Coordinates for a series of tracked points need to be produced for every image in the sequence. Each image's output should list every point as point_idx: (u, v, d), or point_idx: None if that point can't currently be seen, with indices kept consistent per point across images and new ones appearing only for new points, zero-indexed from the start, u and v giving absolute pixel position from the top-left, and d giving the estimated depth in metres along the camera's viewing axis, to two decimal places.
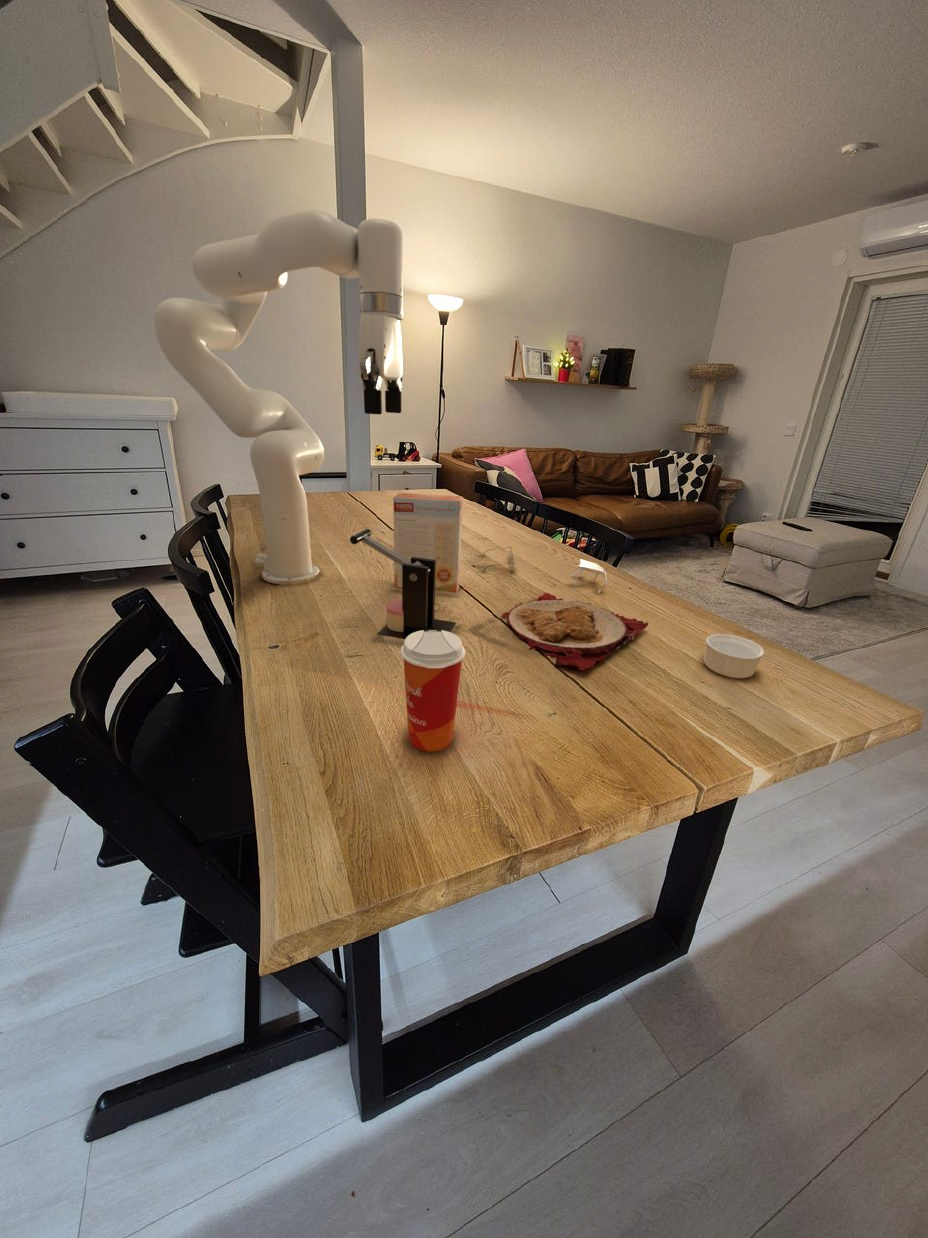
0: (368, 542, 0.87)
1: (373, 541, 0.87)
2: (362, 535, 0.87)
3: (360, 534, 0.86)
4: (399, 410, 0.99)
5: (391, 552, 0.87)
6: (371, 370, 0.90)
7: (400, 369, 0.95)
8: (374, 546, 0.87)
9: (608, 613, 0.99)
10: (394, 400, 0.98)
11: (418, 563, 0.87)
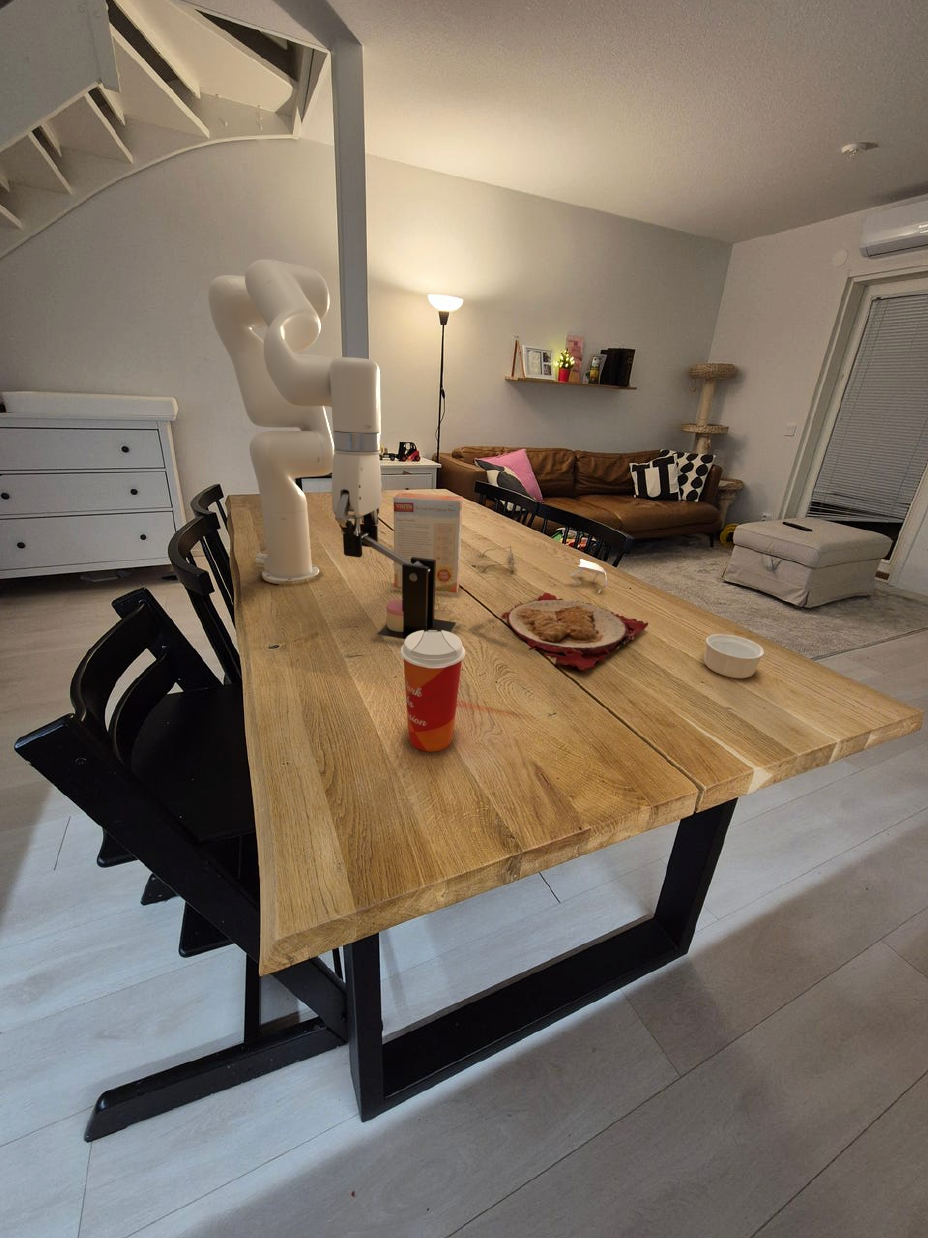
0: (368, 542, 0.87)
1: (373, 541, 0.87)
2: (362, 535, 0.87)
3: None
4: None
5: (391, 552, 0.87)
6: (348, 509, 0.83)
7: (379, 499, 0.88)
8: (374, 546, 0.87)
9: (608, 613, 0.99)
10: None
11: (418, 563, 0.87)
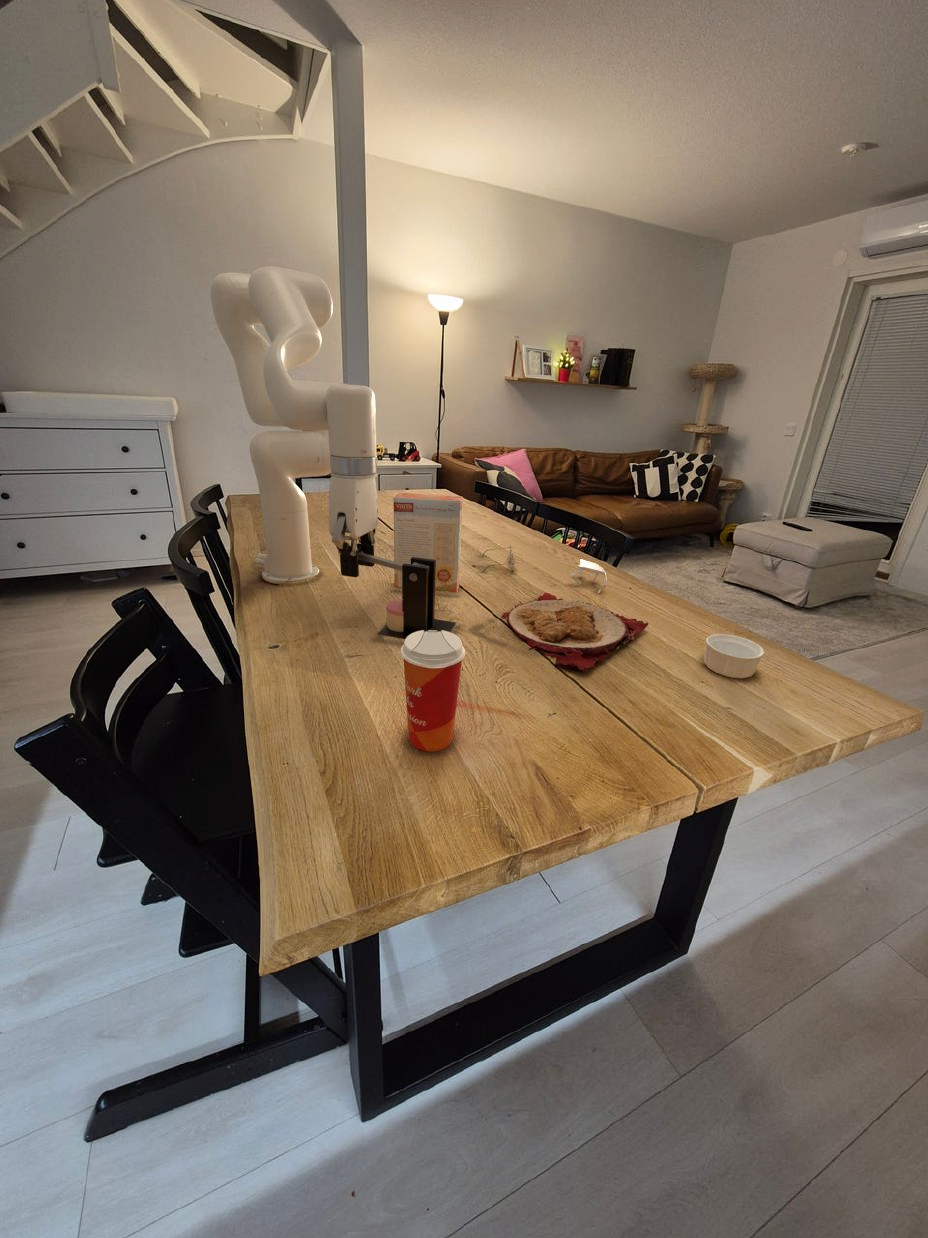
0: (364, 558, 0.88)
1: (368, 555, 0.88)
2: (357, 552, 0.88)
3: None
4: (372, 564, 0.92)
5: (388, 561, 0.88)
6: (345, 531, 0.85)
7: (375, 520, 0.89)
8: (370, 560, 0.88)
9: (608, 613, 0.99)
10: None
11: (416, 563, 0.87)
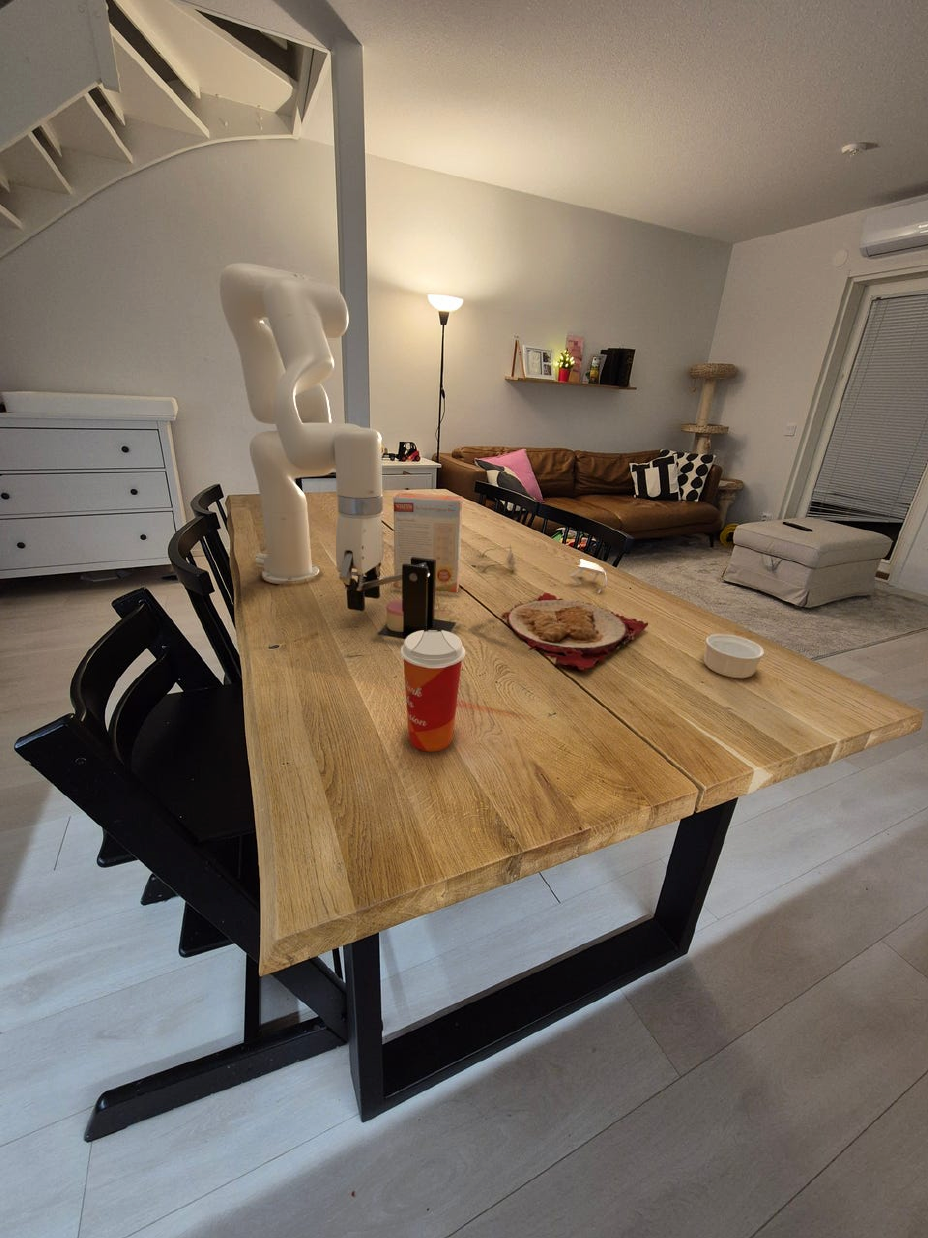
0: (368, 585, 0.90)
1: (371, 581, 0.90)
2: None
3: None
4: (377, 596, 0.95)
5: (388, 577, 0.89)
6: (351, 566, 0.87)
7: (381, 554, 0.92)
8: (374, 584, 0.90)
9: (608, 613, 0.99)
10: (372, 587, 0.94)
11: None
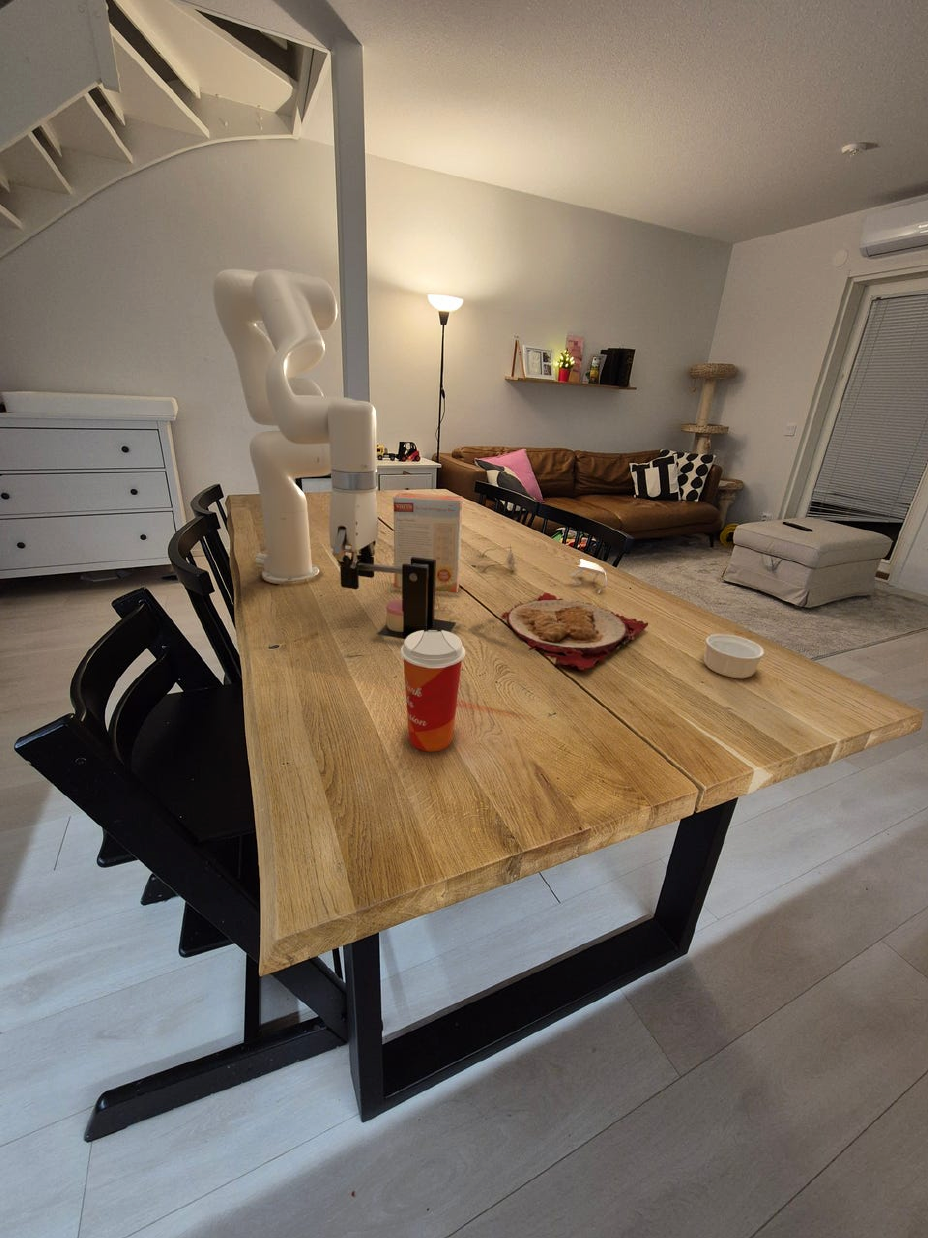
0: (364, 567, 0.89)
1: (368, 564, 0.89)
2: (356, 563, 0.89)
3: None
4: (372, 575, 0.93)
5: (387, 566, 0.88)
6: None
7: (376, 532, 0.90)
8: (370, 568, 0.89)
9: (608, 613, 0.99)
10: None
11: (415, 564, 0.87)
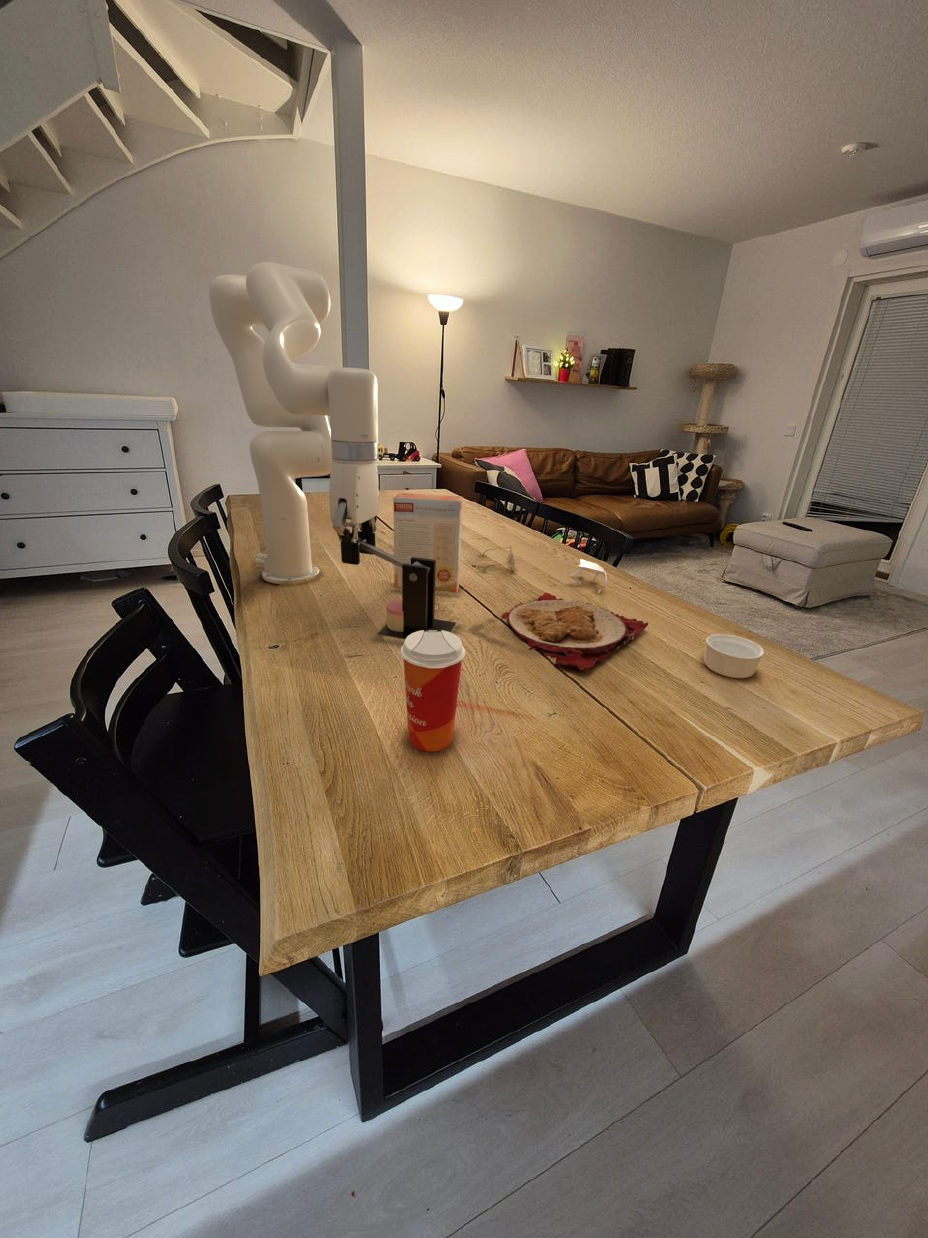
0: (366, 548, 0.88)
1: (371, 546, 0.88)
2: (359, 541, 0.87)
3: (357, 541, 0.87)
4: None
5: (389, 555, 0.87)
6: (346, 517, 0.84)
7: (377, 507, 0.88)
8: (372, 551, 0.87)
9: (608, 613, 0.99)
10: None
11: (417, 563, 0.87)
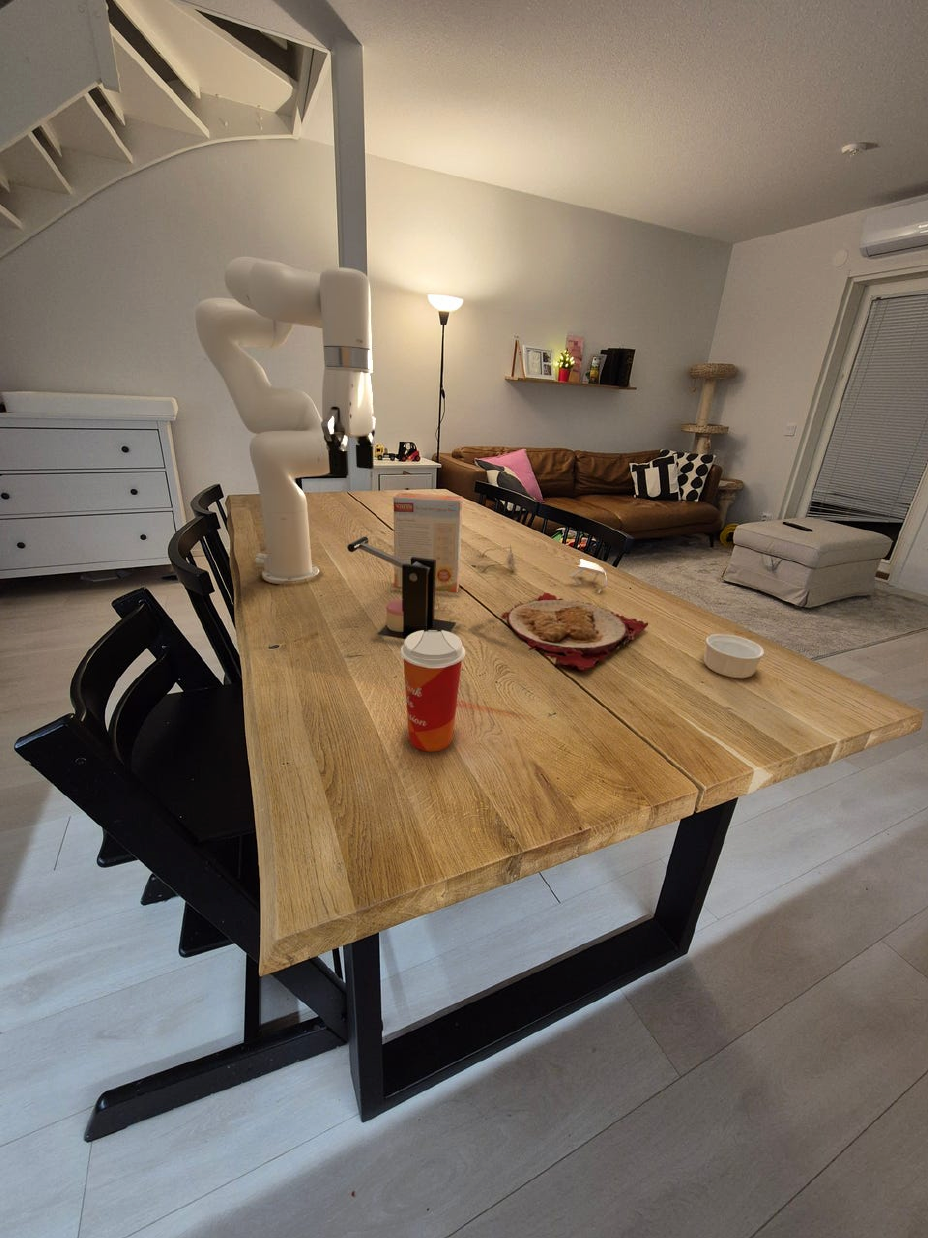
0: (366, 549, 0.88)
1: (370, 547, 0.88)
2: (359, 542, 0.87)
3: (357, 542, 0.87)
4: (371, 466, 0.91)
5: (389, 556, 0.87)
6: (337, 428, 0.82)
7: (371, 424, 0.87)
8: (372, 552, 0.88)
9: (608, 613, 0.99)
10: (365, 455, 0.90)
11: (417, 563, 0.87)
